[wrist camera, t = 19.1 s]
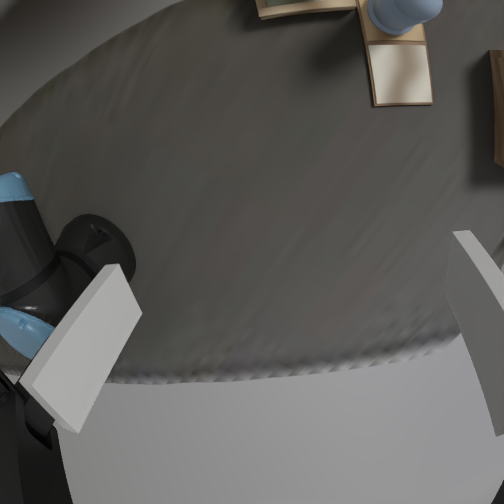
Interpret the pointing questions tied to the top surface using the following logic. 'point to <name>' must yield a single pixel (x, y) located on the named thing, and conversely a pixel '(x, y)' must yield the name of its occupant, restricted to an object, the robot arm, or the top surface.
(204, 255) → the top surface
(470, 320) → the robot arm
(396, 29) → the pawn
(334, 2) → the dice tray
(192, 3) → the top surface
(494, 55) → the creature pen
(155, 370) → the top surface
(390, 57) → the board
